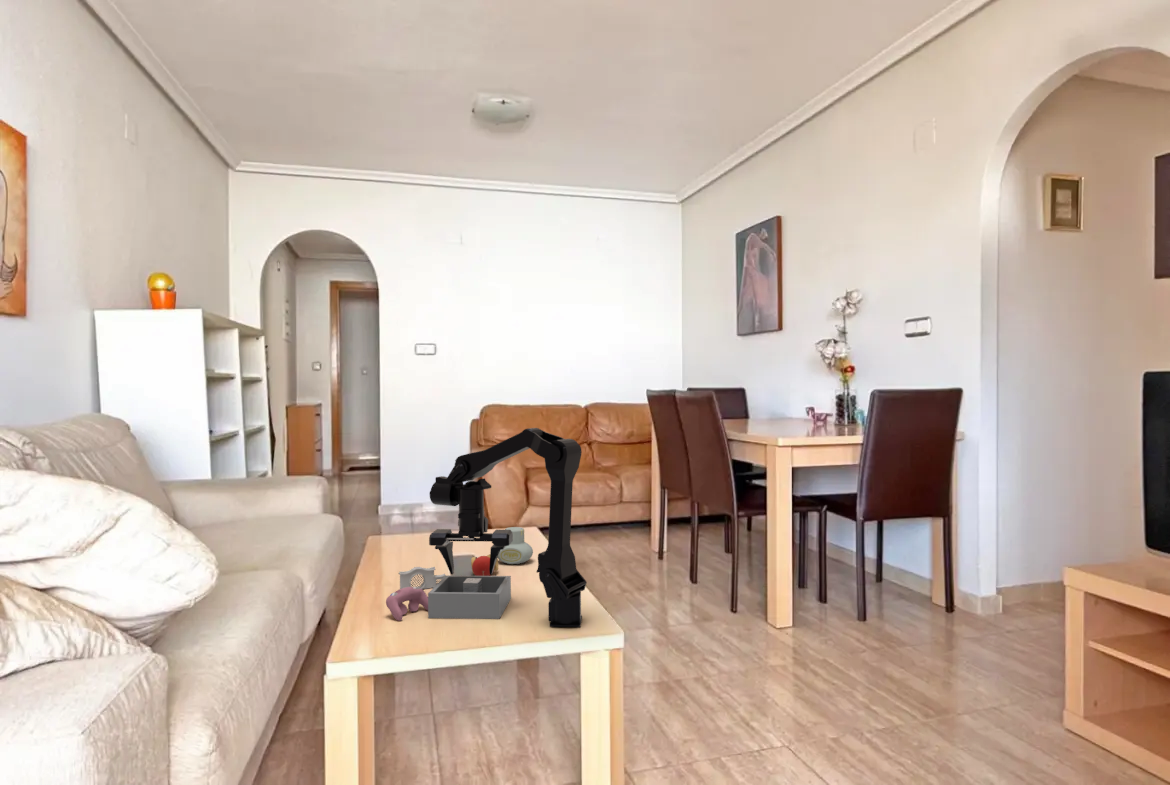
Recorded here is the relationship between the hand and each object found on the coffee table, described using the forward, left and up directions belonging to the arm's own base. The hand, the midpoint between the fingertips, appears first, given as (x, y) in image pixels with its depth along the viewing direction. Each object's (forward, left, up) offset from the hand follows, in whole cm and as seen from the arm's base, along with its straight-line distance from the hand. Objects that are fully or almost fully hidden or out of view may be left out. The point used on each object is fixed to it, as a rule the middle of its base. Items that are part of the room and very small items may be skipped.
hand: (471, 574), depth 158 cm
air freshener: (-3, -42, -8) cm, 43 cm away
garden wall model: (+16, -14, -8) cm, 23 cm away
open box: (0, +1, -8) cm, 8 cm away
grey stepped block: (0, +2, -7) cm, 7 cm away
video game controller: (+13, +6, -8) cm, 16 cm away
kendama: (+3, -31, -8) cm, 32 cm away
